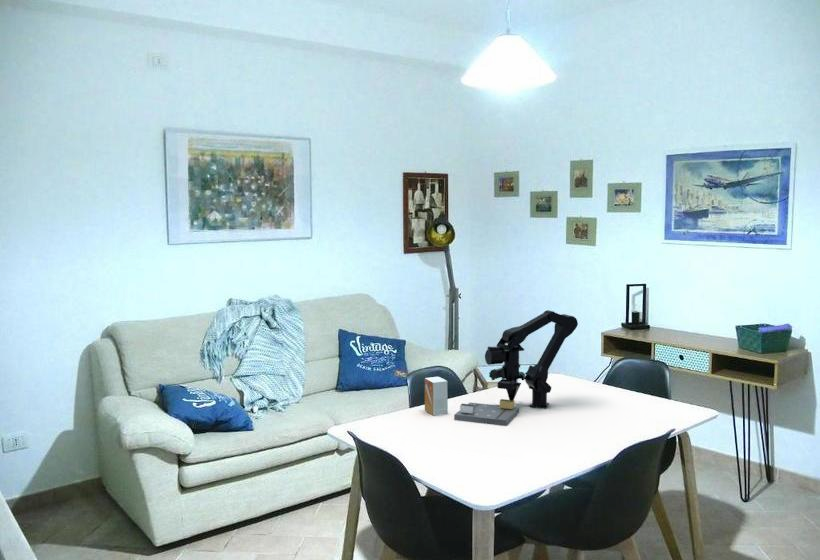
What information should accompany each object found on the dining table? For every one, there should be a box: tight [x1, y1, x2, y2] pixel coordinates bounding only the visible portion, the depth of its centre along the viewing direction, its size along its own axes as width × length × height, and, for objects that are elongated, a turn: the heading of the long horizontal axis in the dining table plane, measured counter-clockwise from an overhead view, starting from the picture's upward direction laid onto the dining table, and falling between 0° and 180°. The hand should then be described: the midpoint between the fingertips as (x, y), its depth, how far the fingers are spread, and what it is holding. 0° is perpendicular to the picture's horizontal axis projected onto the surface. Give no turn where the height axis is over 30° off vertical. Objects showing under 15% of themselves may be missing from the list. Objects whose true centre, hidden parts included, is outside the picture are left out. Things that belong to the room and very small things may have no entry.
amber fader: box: [499, 398, 516, 409], centre depth 277 cm, size 3×5×3 cm, turn 67°
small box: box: [424, 376, 449, 416], centre depth 279 cm, size 8×6×13 cm
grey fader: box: [459, 403, 475, 414], centre depth 271 cm, size 3×5×3 cm, turn 67°
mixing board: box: [453, 402, 520, 427], centre depth 274 cm, size 18×20×2 cm
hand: (511, 401), depth 283 cm, fingers closed
